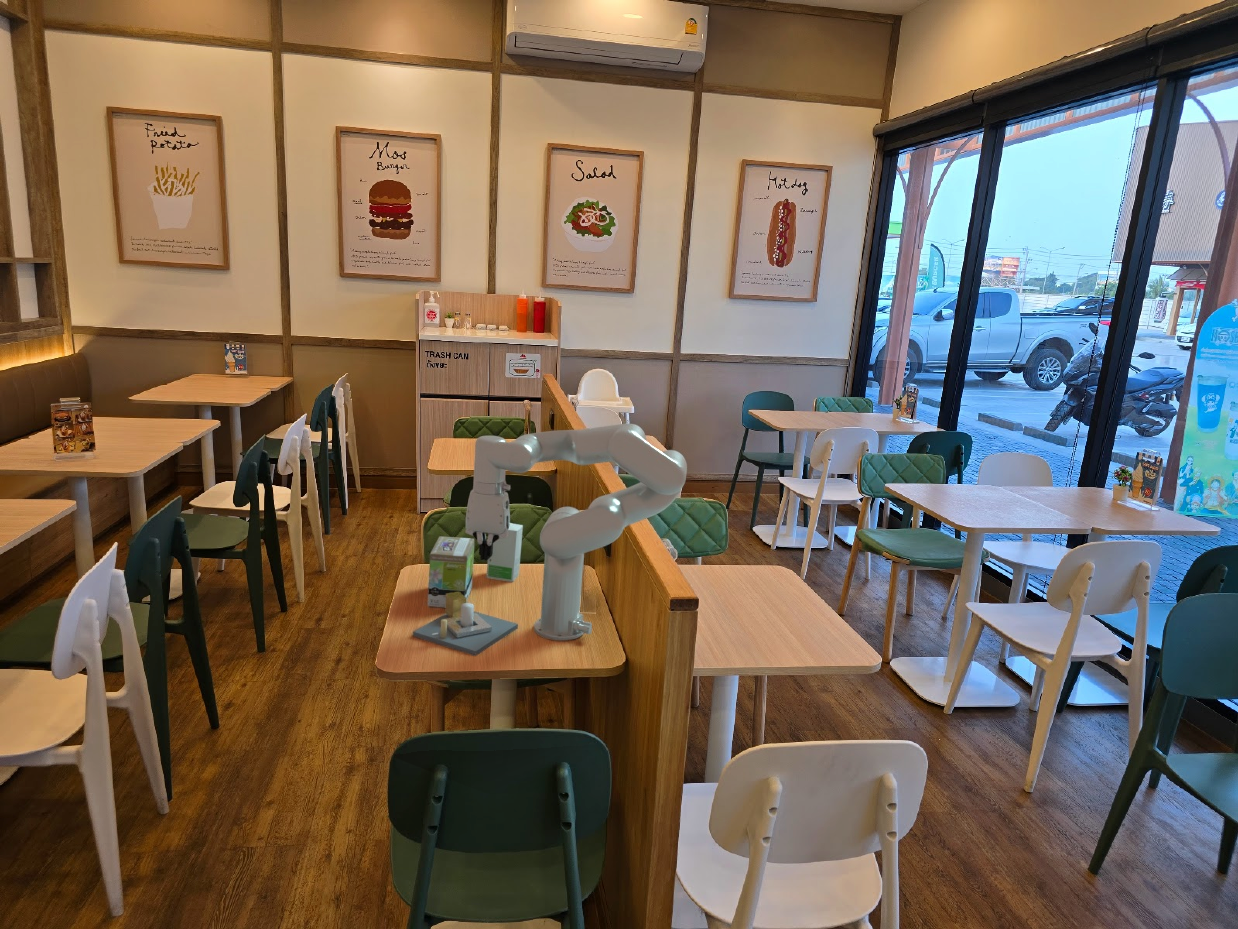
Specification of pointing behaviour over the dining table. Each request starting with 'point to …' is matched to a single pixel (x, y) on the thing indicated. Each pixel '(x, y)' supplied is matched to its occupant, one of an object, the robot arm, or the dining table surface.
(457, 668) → the dining table surface
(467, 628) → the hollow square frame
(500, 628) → the post board
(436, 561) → the tea box
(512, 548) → the skincare box
